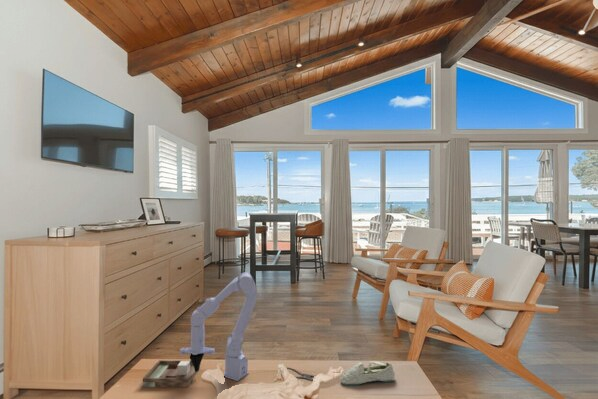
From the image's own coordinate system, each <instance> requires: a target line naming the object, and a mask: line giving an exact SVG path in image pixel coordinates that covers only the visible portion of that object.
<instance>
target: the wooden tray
mask: <svg viewBox="0 0 598 399" xmlns="http://www.w3.org/2000/svg"><path fill="white" fill-rule="evenodd" d="M181 361H182V360H181V359H180V360H178V359H177V360H170V359H169V360H165V359H164V360H163V359H161V360H160V359H159V360H158V361H157V362H156V363H155V364H154V365H153V366H152V367H151V369H150V370H149V371H148V372H147V373H146V374H145V375H144V377H143V378H142V388H189V386H190V385H191V384H192V382H193V380H194V379H195V378H196V375H197V373H198V372H195V369H194V366H193V363H192V361H191V360H189V361H190V371H189V372H188V374H187V375H177V369H178V364H179V363H180V362H181Z"/></svg>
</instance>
